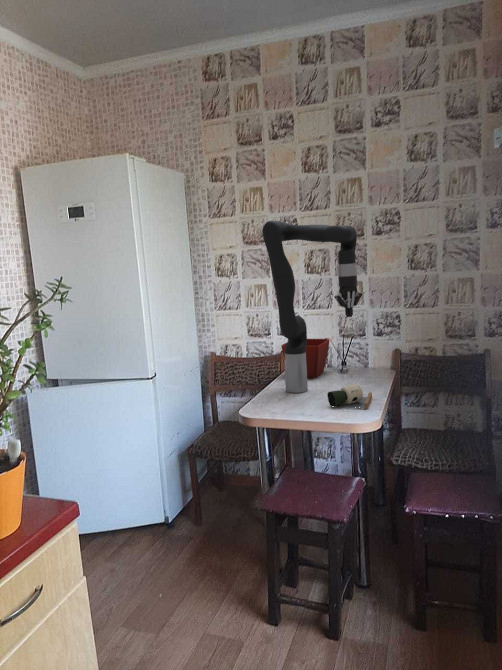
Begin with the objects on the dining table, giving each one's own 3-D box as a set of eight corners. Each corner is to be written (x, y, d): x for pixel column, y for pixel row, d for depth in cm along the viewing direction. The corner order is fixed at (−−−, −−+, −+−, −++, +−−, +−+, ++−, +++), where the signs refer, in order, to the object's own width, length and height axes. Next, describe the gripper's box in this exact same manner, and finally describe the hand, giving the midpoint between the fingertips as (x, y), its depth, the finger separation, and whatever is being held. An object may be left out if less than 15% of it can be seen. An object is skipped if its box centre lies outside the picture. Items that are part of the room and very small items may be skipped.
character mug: (338, 404, 204) (367, 395, 208) (331, 387, 206) (360, 379, 210) (328, 412, 213) (356, 404, 217) (321, 396, 216) (349, 388, 220)
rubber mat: (335, 408, 209) (335, 402, 208) (342, 397, 224) (342, 391, 223) (367, 409, 205) (367, 403, 204) (372, 398, 220) (371, 392, 219)
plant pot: (319, 380, 256) (317, 345, 253) (282, 378, 264) (280, 345, 262) (331, 371, 273) (330, 338, 270) (296, 370, 281) (294, 338, 279)
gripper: (339, 276, 214) (341, 319, 217) (366, 273, 220) (367, 315, 223) (328, 276, 221) (330, 317, 224) (354, 273, 227) (356, 314, 229)
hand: (349, 316), depth 223 cm, fingers closed
